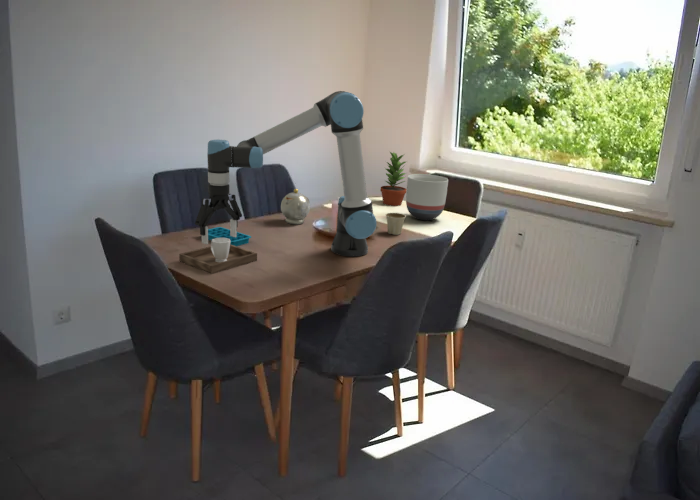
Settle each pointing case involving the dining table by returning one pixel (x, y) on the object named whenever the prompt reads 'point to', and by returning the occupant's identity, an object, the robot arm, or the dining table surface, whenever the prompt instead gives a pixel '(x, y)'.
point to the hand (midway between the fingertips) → (219, 239)
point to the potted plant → (394, 183)
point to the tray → (207, 262)
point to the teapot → (295, 207)
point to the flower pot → (395, 223)
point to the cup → (220, 249)
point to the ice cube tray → (228, 236)
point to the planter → (426, 195)
